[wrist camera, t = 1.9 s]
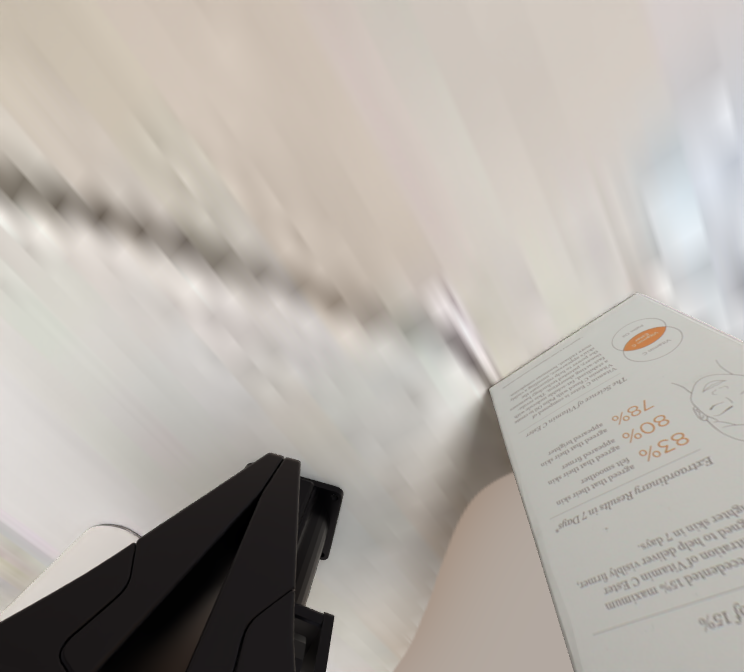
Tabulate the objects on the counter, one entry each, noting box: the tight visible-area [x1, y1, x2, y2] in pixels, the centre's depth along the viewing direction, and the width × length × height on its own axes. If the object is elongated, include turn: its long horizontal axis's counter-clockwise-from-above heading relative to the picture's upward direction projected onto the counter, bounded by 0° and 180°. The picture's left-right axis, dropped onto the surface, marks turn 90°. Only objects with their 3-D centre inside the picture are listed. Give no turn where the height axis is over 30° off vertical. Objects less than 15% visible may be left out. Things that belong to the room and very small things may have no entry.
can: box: [0, 524, 141, 622], centre depth 23 cm, size 6×6×12 cm
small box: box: [489, 293, 744, 672], centre depth 12 cm, size 8×6×13 cm
